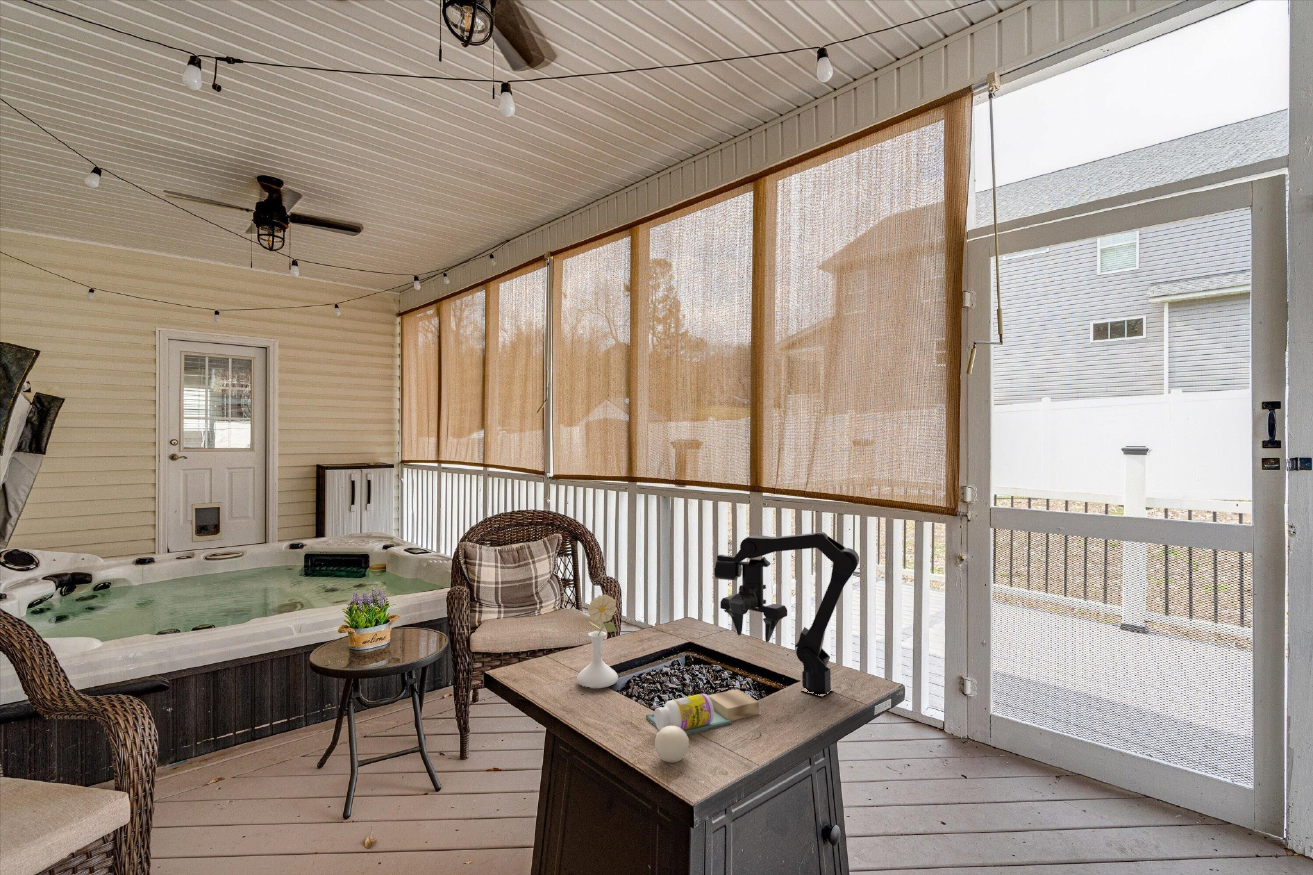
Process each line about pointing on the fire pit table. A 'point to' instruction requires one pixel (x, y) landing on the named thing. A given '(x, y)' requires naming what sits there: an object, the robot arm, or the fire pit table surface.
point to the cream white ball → (671, 744)
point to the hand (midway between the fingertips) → (753, 638)
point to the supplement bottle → (685, 712)
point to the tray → (717, 722)
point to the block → (734, 705)
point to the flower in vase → (599, 645)
